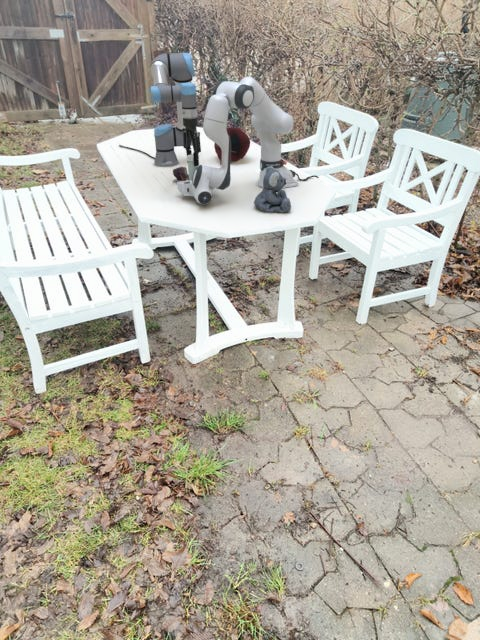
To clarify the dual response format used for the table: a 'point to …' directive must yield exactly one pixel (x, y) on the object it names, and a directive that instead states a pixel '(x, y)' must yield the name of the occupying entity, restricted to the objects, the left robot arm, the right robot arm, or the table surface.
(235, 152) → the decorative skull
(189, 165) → the jar
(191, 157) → the lid
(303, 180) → the right robot arm
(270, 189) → the koala plush
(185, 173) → the rock
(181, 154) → the table surface
